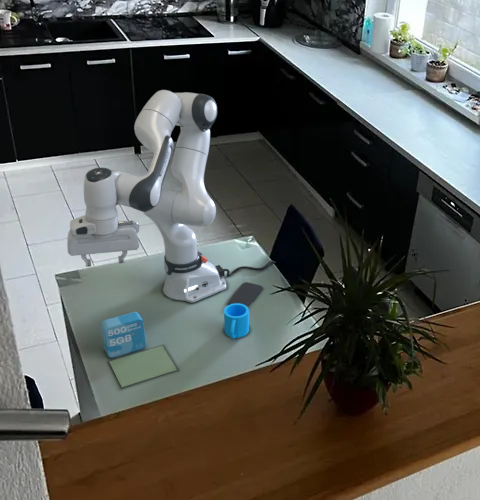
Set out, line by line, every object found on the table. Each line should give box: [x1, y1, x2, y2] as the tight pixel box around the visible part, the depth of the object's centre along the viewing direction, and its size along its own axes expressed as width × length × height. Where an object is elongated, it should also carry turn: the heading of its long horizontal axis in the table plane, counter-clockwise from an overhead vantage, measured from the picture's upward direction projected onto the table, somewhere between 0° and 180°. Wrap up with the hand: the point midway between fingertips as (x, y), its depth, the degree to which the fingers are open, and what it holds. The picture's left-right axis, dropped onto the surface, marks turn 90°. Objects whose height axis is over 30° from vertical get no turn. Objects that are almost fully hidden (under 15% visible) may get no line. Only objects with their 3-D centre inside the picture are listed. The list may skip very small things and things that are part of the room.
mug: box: [223, 303, 250, 340], centre depth 230 cm, size 12×8×8 cm
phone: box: [227, 281, 263, 308], centre depth 250 cm, size 7×1×15 cm
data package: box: [100, 311, 147, 359], centre depth 218 cm, size 12×4×12 cm, turn 123°
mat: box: [108, 345, 178, 389], centre depth 215 cm, size 17×13×1 cm
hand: (105, 264), depth 210 cm, fingers open, 8 cm apart
